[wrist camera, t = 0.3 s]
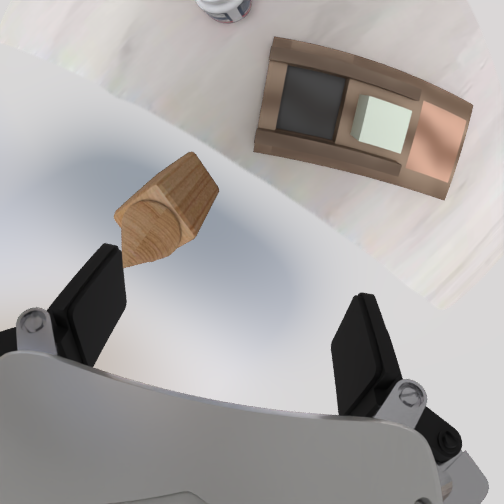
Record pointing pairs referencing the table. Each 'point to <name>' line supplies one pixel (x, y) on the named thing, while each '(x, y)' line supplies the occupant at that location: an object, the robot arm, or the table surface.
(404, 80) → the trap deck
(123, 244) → the decorative item
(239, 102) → the table surface
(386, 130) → the sage block
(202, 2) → the pill bottle
